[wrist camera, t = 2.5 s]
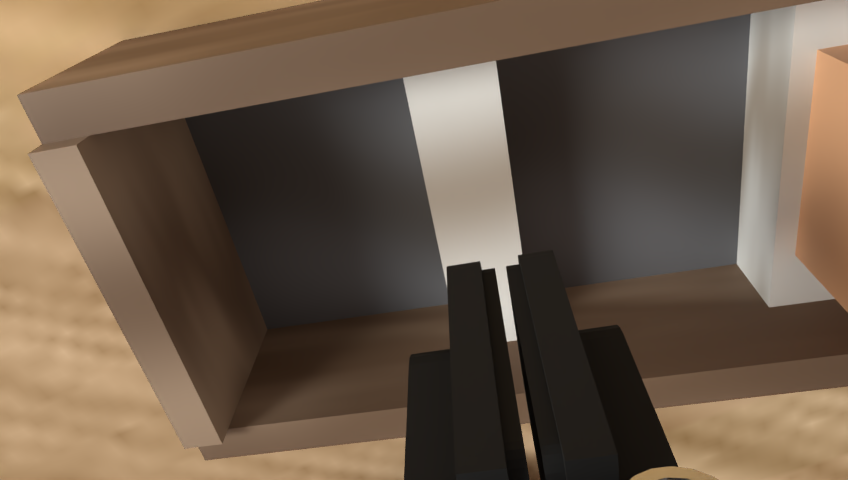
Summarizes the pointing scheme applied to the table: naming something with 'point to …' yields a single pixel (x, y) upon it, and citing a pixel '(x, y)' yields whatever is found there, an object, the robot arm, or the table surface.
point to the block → (827, 177)
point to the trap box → (442, 198)
